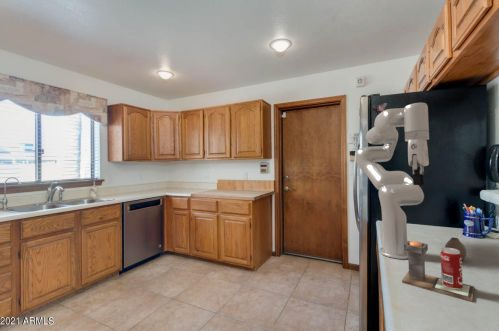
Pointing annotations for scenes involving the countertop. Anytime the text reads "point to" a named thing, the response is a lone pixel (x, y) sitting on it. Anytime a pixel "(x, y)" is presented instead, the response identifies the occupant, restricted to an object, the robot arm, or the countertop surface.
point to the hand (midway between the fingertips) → (418, 184)
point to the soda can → (451, 268)
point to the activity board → (429, 282)
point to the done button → (415, 243)
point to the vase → (456, 246)
